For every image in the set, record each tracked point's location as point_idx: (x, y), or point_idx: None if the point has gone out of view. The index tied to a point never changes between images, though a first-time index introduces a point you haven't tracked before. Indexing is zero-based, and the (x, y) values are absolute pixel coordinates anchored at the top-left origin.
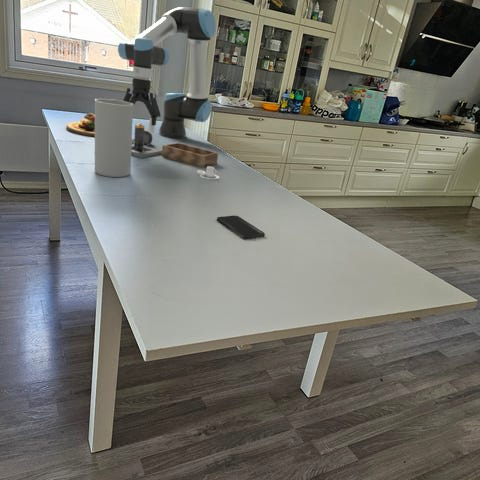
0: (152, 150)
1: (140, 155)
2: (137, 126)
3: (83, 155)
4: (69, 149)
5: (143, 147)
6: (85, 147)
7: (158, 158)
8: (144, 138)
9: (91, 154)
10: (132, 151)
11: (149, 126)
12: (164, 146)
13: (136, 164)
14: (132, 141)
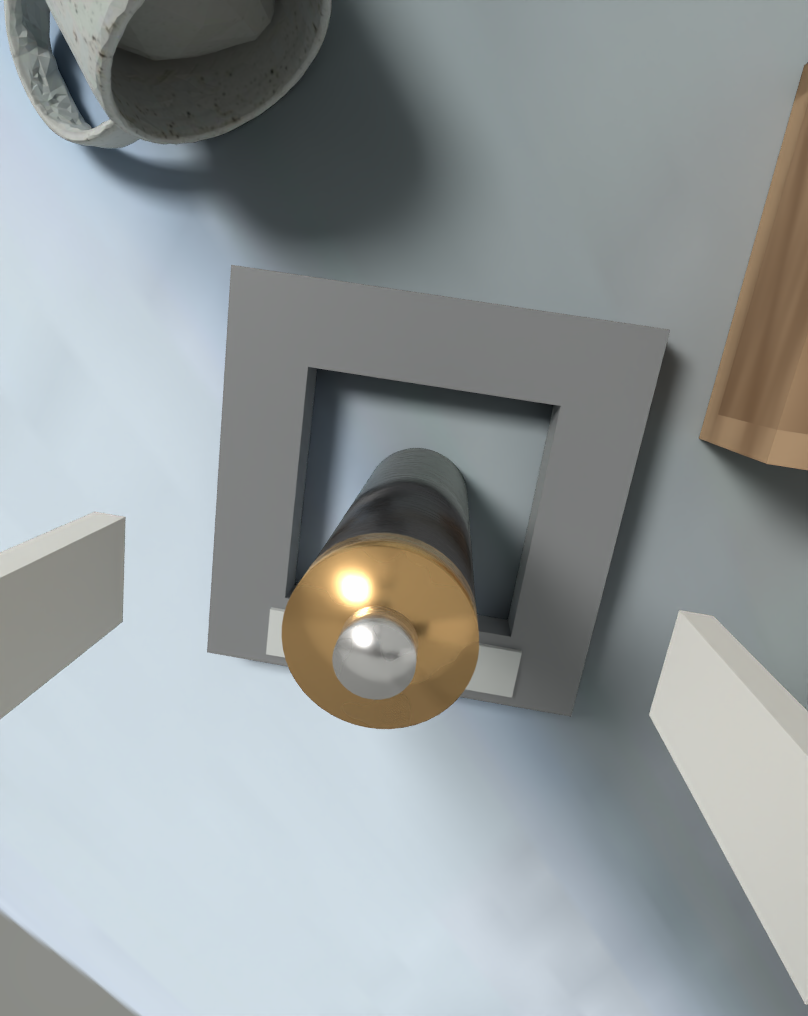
0: (567, 435)
1: (566, 709)
2: (386, 717)
3: (210, 944)
4: (20, 877)
5: (403, 381)
6: (18, 738)
7: (712, 565)
8: (199, 28)
9: (219, 885)
10: None
11: (702, 795)
12: (795, 465)
13: (649, 896)
14: (85, 145)
